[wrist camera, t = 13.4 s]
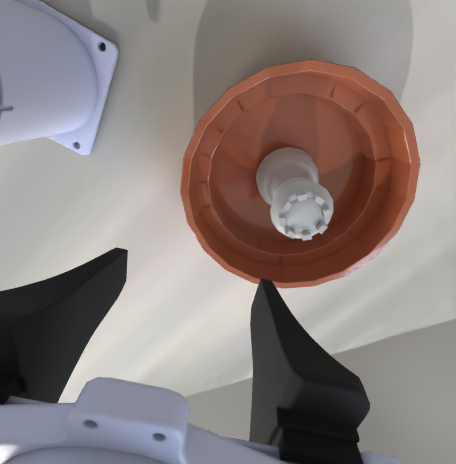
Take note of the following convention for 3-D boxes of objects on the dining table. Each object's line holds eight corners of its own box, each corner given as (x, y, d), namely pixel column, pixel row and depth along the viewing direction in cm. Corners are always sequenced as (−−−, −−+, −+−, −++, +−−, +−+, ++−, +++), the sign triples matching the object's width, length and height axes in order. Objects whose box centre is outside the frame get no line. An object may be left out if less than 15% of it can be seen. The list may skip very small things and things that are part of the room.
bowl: (168, 207, 23) (149, 233, 19) (251, 24, 17) (252, -1, 13) (307, 276, 25) (320, 315, 21) (424, 135, 19) (477, 147, 15)
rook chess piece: (283, 214, 22) (299, 271, 15) (243, 177, 21) (241, 218, 14) (328, 175, 20) (371, 218, 13) (288, 132, 19) (311, 152, 12)
